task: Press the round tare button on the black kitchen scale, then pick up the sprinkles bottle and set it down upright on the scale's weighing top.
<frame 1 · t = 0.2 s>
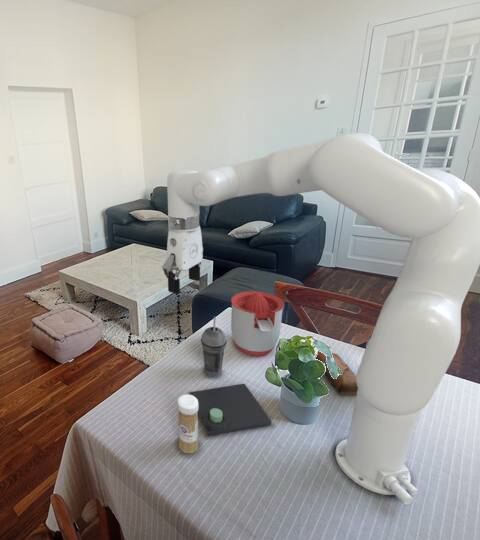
hand: (184, 285, 89), 31 cm above the table, tool pointing down, fingers open, 9 cm apart
citrus juicer: (254, 348, 112), on the table
sprinkles bottle: (188, 446, 79), on the table
scale: (227, 410, 88), on the table
beverage cup: (212, 373, 102), on the table
tare button: (216, 415, 82), point 4 cm above the table, slide at 0.1 cm
brown leather shoe: (335, 373, 98), on the table
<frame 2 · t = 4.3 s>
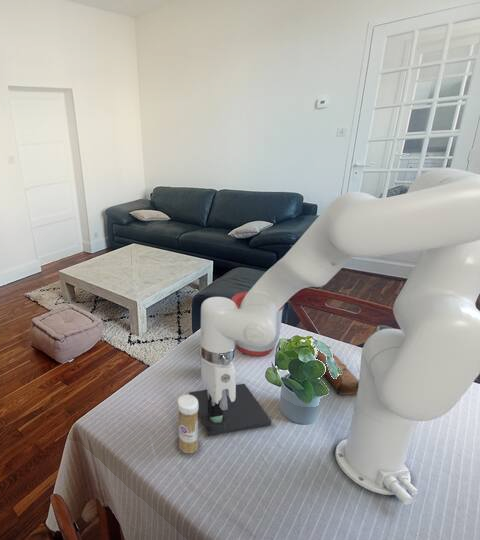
hand: (215, 413, 82), 4 cm above the table, tool pointing down, fingers closed
tare button: (216, 417, 82), point 3 cm above the table, slide at -0.4 cm, touching gripper
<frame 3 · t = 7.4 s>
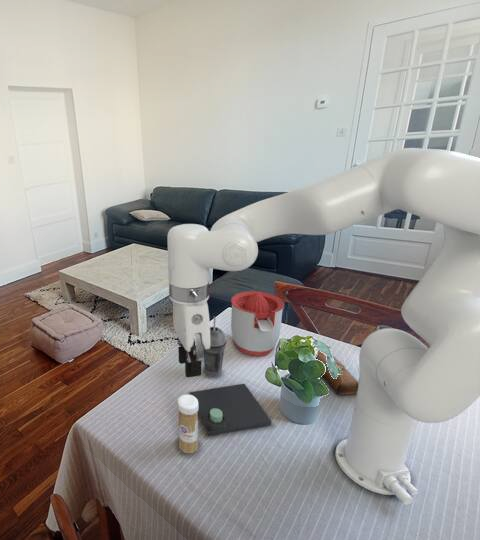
hand: (189, 368, 71), 22 cm above the table, tool pointing down, fingers open, 3 cm apart
tare button: (216, 415, 82), point 3 cm above the table, slide at 0.1 cm
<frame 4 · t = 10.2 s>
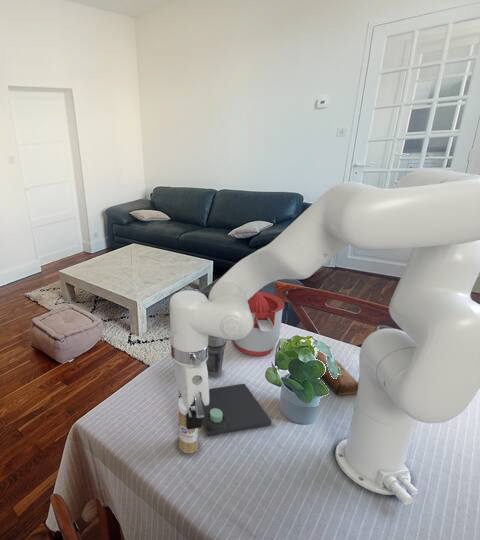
hand: (189, 417, 75), 9 cm above the table, tool pointing down, fingers closed on sprinkles bottle, 4 cm apart
sprinkles bottle: (188, 446, 79), on the table, touching gripper
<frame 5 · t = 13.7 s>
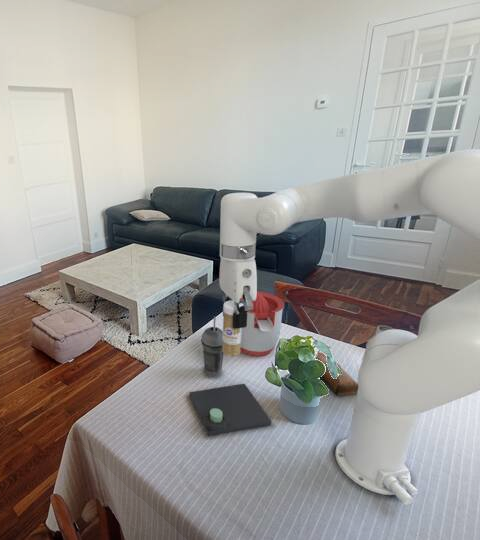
hand: (234, 321, 81), 25 cm above the table, tool pointing down, fingers closed on sprinkles bottle, 4 cm apart
sprinkles bottle: (231, 352, 84), point 16 cm above the table, touching gripper
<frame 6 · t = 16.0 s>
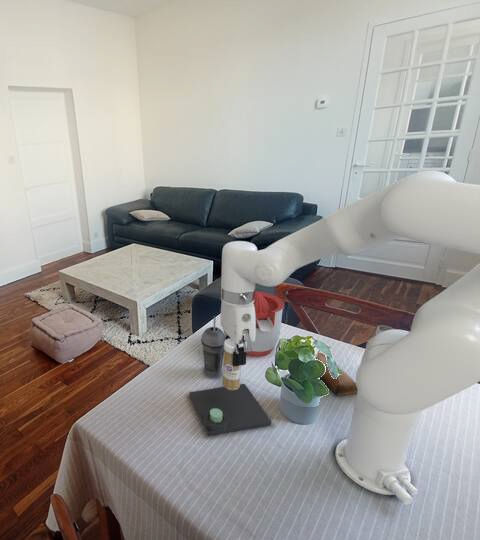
hand: (234, 357, 86), 14 cm above the table, tool pointing down, fingers closed on sprinkles bottle, 4 cm apart
sprinkles bottle: (231, 385, 89), point 5 cm above the table, touching gripper
when the fingers open (10 cm above the table, at t = 17.6 s): sprinkles bottle stays where it is, resting on scale.
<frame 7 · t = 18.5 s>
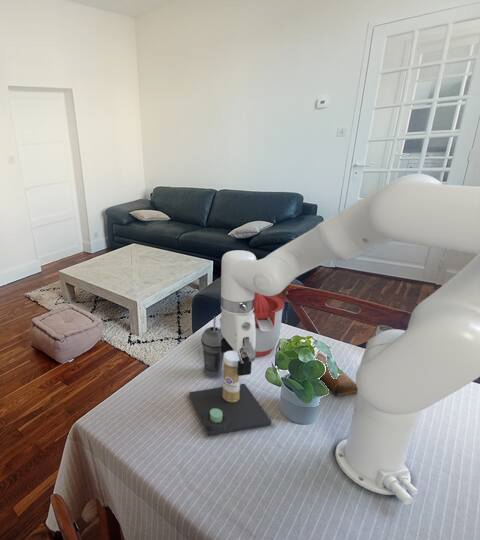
hand: (235, 362, 86), 13 cm above the table, tool pointing down, fingers open, 9 cm apart
sprinkles bottle: (230, 397, 90), point 1 cm above the table, touching scale
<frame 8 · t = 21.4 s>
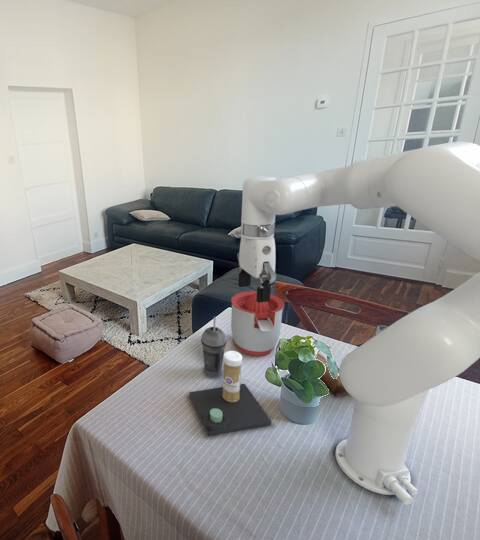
hand: (253, 293, 87), 28 cm above the table, tool pointing down, fingers open, 9 cm apart
at the end: tare button pushed in 0.9 cm at the most during the clip, back to where it started at the end; sprinkles bottle inside the target area on the scale (3.5 cm from its centre), point 1.2 cm above the scale's base; sprinkles bottle tilted 0° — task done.
